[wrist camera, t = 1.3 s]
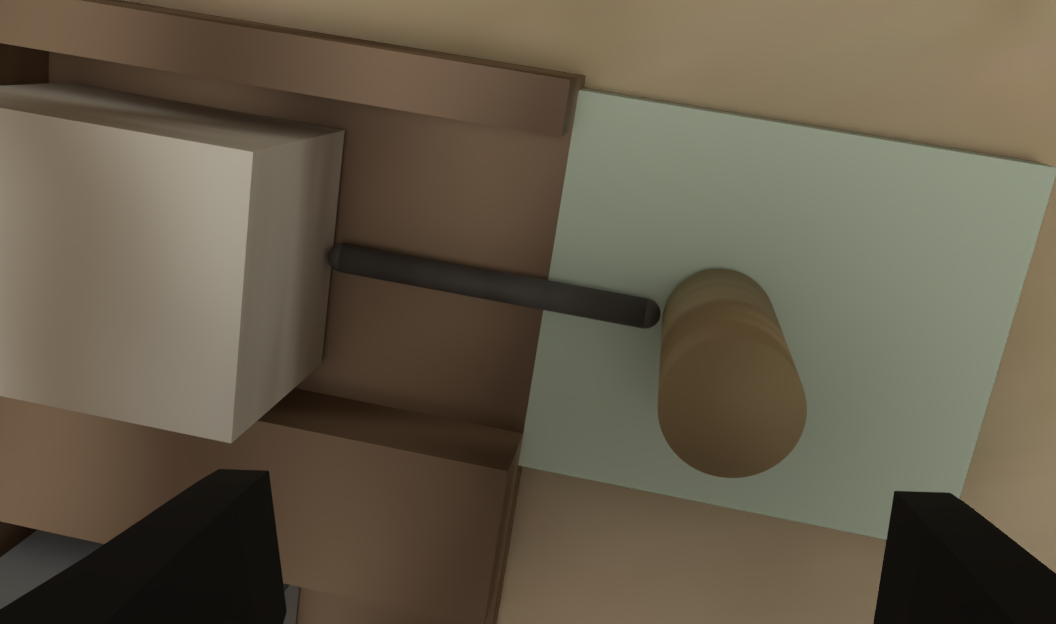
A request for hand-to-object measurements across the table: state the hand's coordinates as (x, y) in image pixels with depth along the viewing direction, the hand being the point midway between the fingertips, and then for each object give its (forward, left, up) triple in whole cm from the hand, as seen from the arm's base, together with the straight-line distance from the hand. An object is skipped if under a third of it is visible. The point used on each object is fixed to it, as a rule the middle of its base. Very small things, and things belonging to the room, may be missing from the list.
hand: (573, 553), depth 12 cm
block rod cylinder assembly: (+5, -1, -9) cm, 10 cm away
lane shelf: (+8, +4, -10) cm, 13 cm away
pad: (-3, -1, -10) cm, 11 cm away
